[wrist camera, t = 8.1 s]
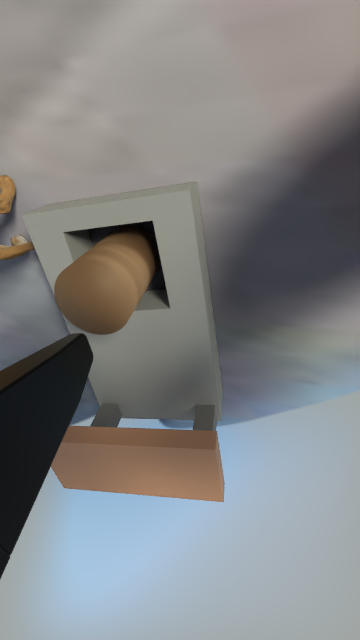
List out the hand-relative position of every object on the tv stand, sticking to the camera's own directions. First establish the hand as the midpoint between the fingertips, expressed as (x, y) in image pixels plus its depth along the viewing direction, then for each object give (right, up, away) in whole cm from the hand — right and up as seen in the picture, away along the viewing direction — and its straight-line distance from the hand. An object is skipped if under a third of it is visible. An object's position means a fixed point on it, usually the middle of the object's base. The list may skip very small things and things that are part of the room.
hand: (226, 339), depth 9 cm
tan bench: (-3, -4, +17) cm, 18 cm away
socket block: (-4, +1, +15) cm, 15 cm away
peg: (-5, +5, +12) cm, 14 cm away
